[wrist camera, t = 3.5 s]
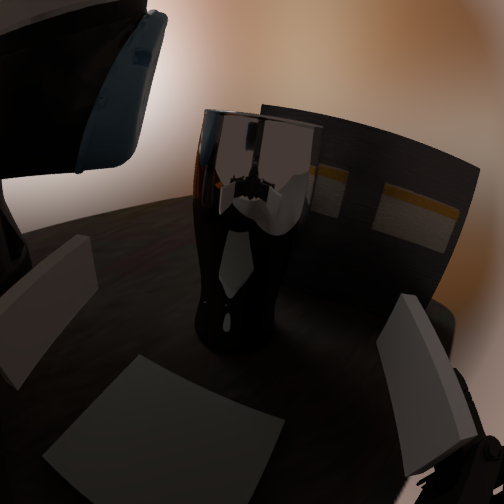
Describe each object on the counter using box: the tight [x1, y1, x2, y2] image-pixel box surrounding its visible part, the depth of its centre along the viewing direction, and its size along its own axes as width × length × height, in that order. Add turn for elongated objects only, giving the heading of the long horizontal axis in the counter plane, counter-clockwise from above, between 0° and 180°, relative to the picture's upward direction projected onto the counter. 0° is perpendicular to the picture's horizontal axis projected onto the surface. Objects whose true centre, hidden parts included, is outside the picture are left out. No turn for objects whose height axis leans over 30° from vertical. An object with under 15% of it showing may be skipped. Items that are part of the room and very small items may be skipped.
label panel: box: [260, 104, 480, 318], centre depth 24 cm, size 19×6×16 cm, turn 69°
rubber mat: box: [42, 354, 285, 504], centre depth 11 cm, size 10×10×1 cm
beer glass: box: [193, 109, 324, 355], centre depth 17 cm, size 7×7×15 cm
